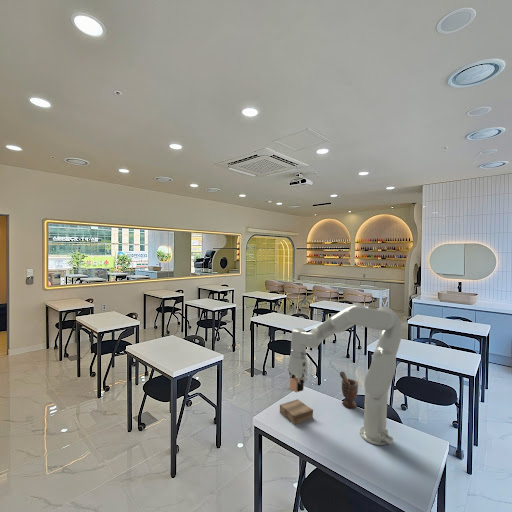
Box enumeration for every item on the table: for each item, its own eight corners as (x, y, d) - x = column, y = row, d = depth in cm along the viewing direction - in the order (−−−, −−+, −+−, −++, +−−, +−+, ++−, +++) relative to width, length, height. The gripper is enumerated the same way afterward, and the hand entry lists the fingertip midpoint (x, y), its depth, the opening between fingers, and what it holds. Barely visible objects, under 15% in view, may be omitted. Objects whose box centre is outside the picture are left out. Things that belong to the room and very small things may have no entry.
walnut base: (312, 417, 147) (313, 409, 147) (294, 424, 140) (294, 416, 140) (297, 406, 157) (297, 399, 157) (279, 412, 151) (279, 404, 151)
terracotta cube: (303, 390, 148) (303, 380, 148) (295, 392, 145) (296, 382, 145) (297, 386, 152) (297, 376, 152) (289, 388, 149) (290, 378, 149)
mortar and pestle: (352, 413, 152) (353, 376, 151) (336, 407, 157) (337, 371, 157) (359, 405, 161) (360, 369, 161) (344, 399, 166) (345, 365, 166)
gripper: (315, 357, 143) (313, 394, 143) (293, 347, 157) (291, 380, 158) (303, 360, 139) (301, 397, 139) (282, 349, 154) (280, 383, 154)
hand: (296, 388), depth 149 cm, fingers closed on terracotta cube, 5 cm apart
